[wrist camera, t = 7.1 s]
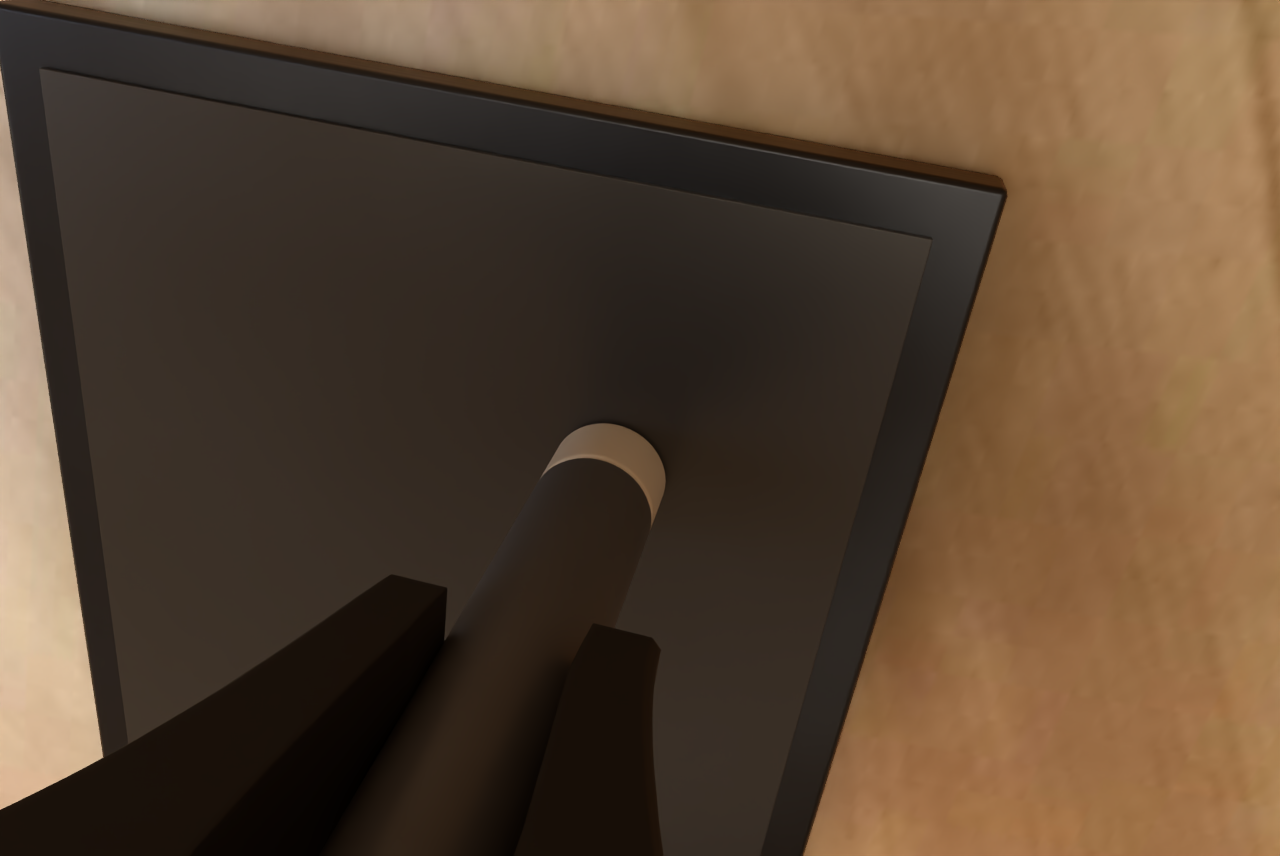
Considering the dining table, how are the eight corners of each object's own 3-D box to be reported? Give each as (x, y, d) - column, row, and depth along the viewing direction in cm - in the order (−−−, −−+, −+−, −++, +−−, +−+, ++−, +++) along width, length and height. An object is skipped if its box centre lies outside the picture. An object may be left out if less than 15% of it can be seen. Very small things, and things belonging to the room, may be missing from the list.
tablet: (136, 820, 22) (111, 851, 21) (26, -5, 14) (-19, 1, 13) (754, 993, 20) (750, 1032, 20) (1004, 175, 13) (1011, 192, 12)
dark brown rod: (548, 507, 15) (-34, 1580, 6) (560, 410, 14) (-95, 1454, 5) (657, 532, 15) (248, 1688, 5) (674, 435, 14) (234, 1578, 5)
